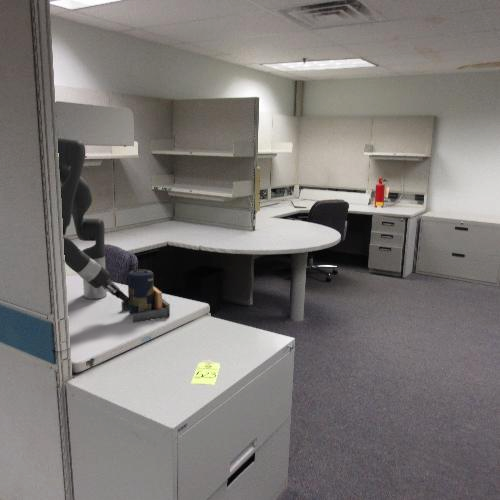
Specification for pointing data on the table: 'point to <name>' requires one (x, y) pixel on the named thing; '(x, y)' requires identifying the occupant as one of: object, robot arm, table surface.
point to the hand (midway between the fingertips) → (127, 300)
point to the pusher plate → (157, 299)
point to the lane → (149, 312)
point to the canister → (140, 290)
